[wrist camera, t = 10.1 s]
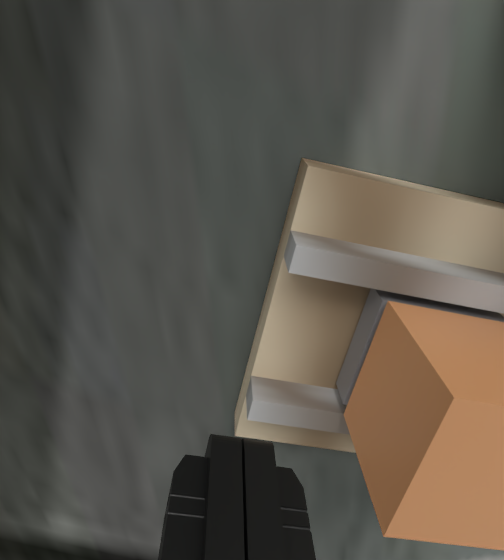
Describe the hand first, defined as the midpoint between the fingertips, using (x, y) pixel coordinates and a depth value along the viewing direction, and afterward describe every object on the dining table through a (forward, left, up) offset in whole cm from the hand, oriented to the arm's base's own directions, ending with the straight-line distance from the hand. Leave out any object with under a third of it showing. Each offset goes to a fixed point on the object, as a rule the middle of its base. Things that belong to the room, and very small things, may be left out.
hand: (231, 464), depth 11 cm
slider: (+7, 0, -7) cm, 10 cm away
